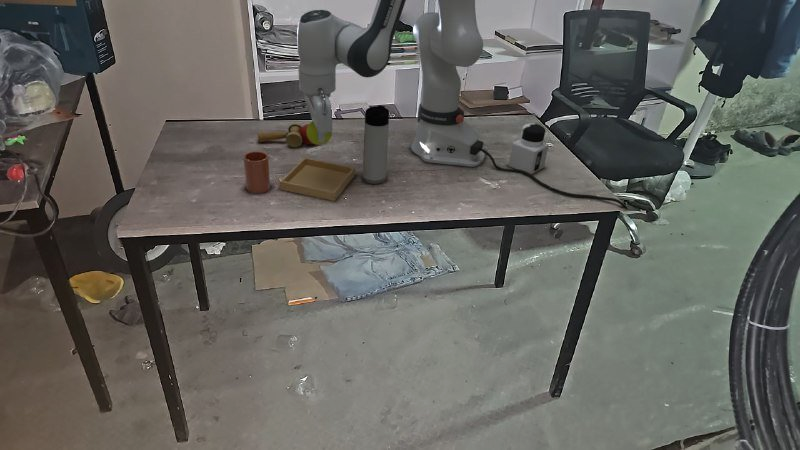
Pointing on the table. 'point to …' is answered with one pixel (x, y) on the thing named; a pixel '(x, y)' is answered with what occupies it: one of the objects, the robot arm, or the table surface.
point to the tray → (318, 179)
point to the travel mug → (375, 144)
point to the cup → (257, 172)
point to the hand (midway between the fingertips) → (318, 134)
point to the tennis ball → (313, 134)
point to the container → (529, 149)
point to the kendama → (288, 135)
